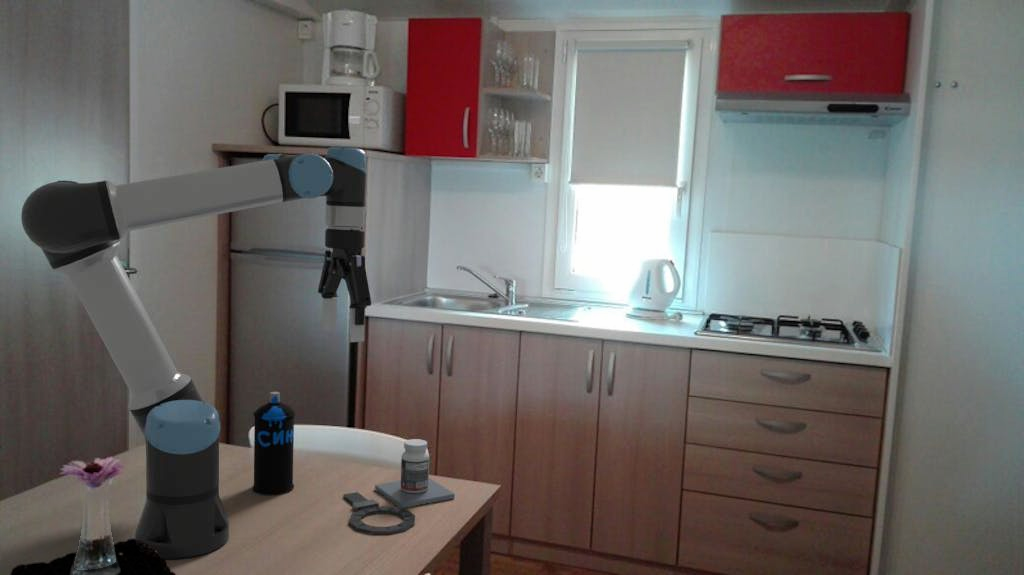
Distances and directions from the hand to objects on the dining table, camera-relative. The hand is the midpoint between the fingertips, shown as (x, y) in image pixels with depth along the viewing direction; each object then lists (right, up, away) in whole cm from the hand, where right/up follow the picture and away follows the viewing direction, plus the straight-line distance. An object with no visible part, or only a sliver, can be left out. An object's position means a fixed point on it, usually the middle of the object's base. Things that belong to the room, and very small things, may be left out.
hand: (342, 335), depth 168 cm
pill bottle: (+13, -32, +7) cm, 35 cm away
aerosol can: (-15, -32, +6) cm, 36 cm away
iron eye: (+7, -34, -5) cm, 35 cm away
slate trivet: (+13, -33, +7) cm, 36 cm away
